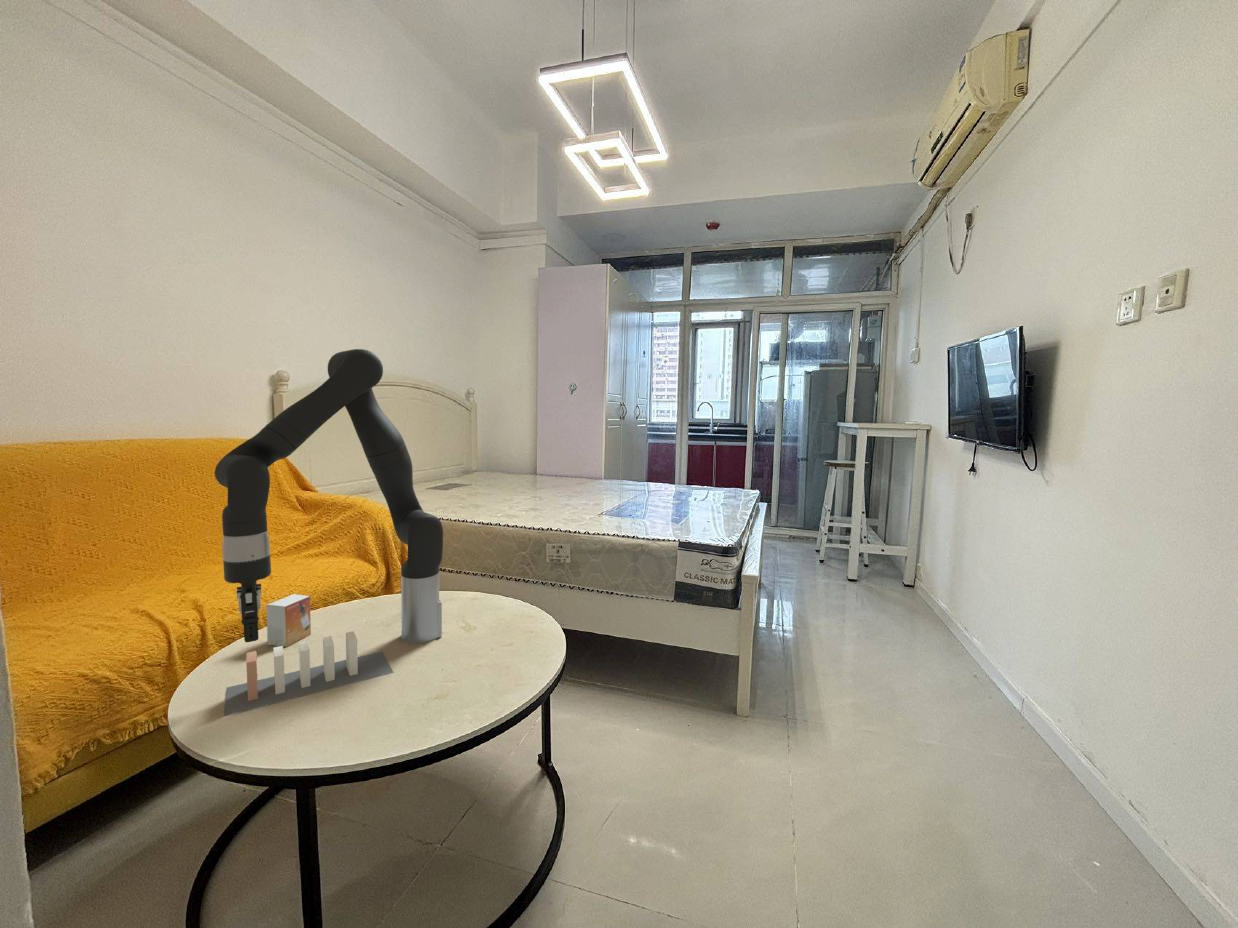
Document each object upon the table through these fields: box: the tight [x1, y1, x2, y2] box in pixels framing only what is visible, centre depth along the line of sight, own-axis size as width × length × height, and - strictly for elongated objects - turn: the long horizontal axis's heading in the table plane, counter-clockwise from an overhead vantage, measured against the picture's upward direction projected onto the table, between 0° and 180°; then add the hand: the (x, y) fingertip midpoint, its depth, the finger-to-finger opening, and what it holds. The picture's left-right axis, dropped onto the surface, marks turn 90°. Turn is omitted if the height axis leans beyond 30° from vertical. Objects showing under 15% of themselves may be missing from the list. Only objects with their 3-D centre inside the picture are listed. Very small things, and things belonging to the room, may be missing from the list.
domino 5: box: [345, 630, 359, 676], centre depth 112 cm, size 2×5×8 cm, turn 36°
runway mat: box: [223, 650, 395, 717], centre depth 107 cm, size 30×12×1 cm, turn 126°
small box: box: [266, 593, 312, 648], centre depth 126 cm, size 8×6×10 cm
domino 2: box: [273, 646, 285, 694], centre depth 104 cm, size 2×5×8 cm, turn 36°
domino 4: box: [322, 635, 335, 682], centre depth 109 cm, size 2×5×8 cm, turn 36°
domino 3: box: [298, 640, 311, 688], centre depth 106 cm, size 2×5×8 cm, turn 36°
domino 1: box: [245, 650, 258, 701], centre depth 101 cm, size 2×5×8 cm, turn 36°
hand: (251, 632), depth 100 cm, fingers open, 8 cm apart
